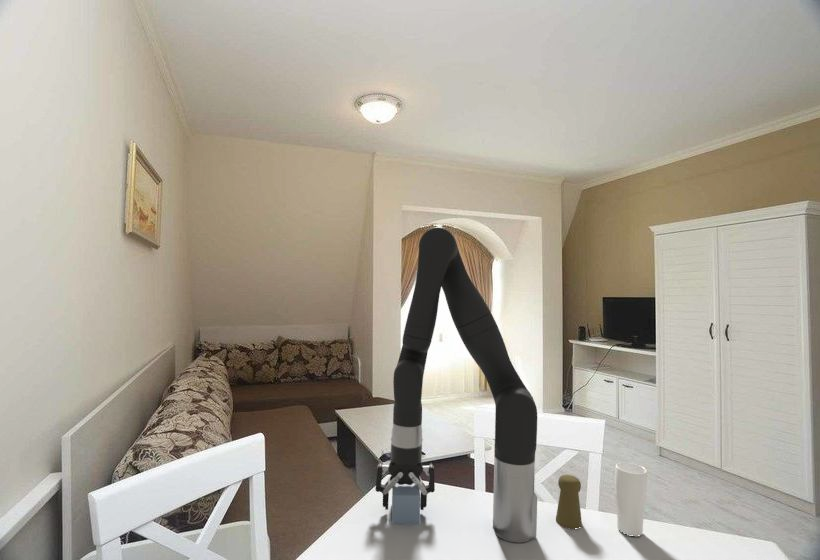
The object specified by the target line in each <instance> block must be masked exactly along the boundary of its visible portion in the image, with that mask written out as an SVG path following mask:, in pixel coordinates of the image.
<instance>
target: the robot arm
mask: <svg viewBox="0 0 820 560" xmlns="http://www.w3.org/2000/svg"><path fill="white" fill-rule="evenodd" d="M457 242H458V241H457V240H456V238H455V236H454V235H453V233H451V231H450V230H448V229H446V228H444V227H439V226H436V227H431V228H429V229H427V230H426V231H424V233H423V234H422V235H421V237H420V239H419V242H418V255H417V256H418V260H417V271H416V279H415V284H414V290H413V294H412V298H411V302H410V306H409V310H408V314H407V317H406V321H405V326H404V331H403V335H402V347H401V350H400V353H399V357H398V361H397V364H396V367H395V369H394V371H393V381H392V382H393V398H394V402H393V409H392V410H393V412H392V427H391V436H390V441H391V442H390V444H391V445H390V461H389V464H383V463H382V462H378V463H377V468H376V479H375V489H374V490H375V492H376V493H379V492H380V493H381V494H382V508H385V510H386V511H387V510H389V497H390V496H389V494H390V493H389V492H390V491H392V488H393V487H394V486H395V484H396V483H398V484H399V485H403V484H407V485H412V484H413V483H415V485H416V486H417V488H418V489H419V490H420V511H424V509H425V508H426V507H427V502H428V495H429V493H434V492H435V491H436V489H435V485H436V484H435V468H434V467H435V466H434V464H433V463H429V464H428V465H423V464H422V457H423V456H422V455H423V453H422V452H423V440H424V439H423V425H422V423H423V404H422V395H423V381H424V374H425V369H426V368H425V367H426V363H427V358H428V351H429V349H430V346H431V343H432V340H433V336H434V331H435V326H436V322H437V316H438V310H439V302H440V294H441V289H442V291H443V295H444V296H445V297H444V298H445V300H446V304H447V307H448V310H449V313H450V316H451V319H452V322H453V324H454V326H455V328H456V330H457V333H458V335H459V336H460V339H461V341H462V343H463V345H464V346H465V348H466V351H468V353H469V354H470V356H471V358H472V359H473V361H474V362H475V364H477V366H478V367H479V369H480V371H481V372H482V374H483V375H484V378H485V379H486V382H487V384H488V386H489V390H490V392H491V394H492V398H493V401H494V404H495V412H494V413H495V414H494V415H495V419H494V420H495V422H494V424H495V425H494V451H493V452H494V458H493V460H494V461H493V462H494V463H493V466H494V467H493V501H492V502H493V503H492V508H493V509H492V530H493V532H494V534H495V535H496V536H497V537H498V538H500V539H501V540H504V541H506V542H511V543H525V542H528V541H530V540H532V539H537V529H538V528H537V525H538V524H537V523H538V521H537V520H538V496H537V494H536V492H535V480H536V479H535V477H536V476H535V475H536V473H535V471H536V451H537V444H538V443H537V436H538V408H537V405H536V402H535V400H534V397H533V395H532V394H531V392H530V390H529V389H528V388H527V387H526V385H525V383H524V382H523V381H522V379H521V378H520V375H519V374H518V372H517V371H516V369H515V367H514V365H513V363H512V360H511V358H510V355H509V352H508V350H507V347H506V344H505V342H504V338H503V336H502V334H501V331H500V328H499V326H498V324H497V322H496V319H495V318H494V315H493V314H492V311H491V309H490V308H489V306H488V304H487V303H486V301H485V299H484V298H483V296H482V295H481V293H480V291H479V290H478V287H476V286H475V284H474V283H473V281H472V279H471V277H470V276H469V273H468V271H467V269H466V267H465V264H464V261H463V259H462V257H461V253H460V250H459V245H458V243H457ZM387 471H388V473H389V474H390V476H389V478H388V479H387V481H386V482H385V484H382V477H383V475H386V472H387ZM423 472H424V473H425V475H426V476H427V477H428V484H426V485H425V483H424V482H423V480H422V478H421V476H422V474H423Z"/></svg>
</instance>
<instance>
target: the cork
mask: <svg viewBox="0 0 820 560" xmlns="http://www.w3.org/2000/svg"><path fill="white" fill-rule="evenodd" d="M557 485H558V487H559V489H560V490H559V491H560V492H559V496H558V497H559V498H558V501H557V502H558V504H557V510H556V516H555V521H556V524H557V525H559V526H560V527H563V528H565V529H568V528H570V529H569V530H576V529H575V528H579V527H581V526H582V527H583V521H582V513H581V504H580V502H581V501H580V495H579V493H580V491H581V489H582V483H581V481H580V479H579V478H578V477H576V476H574V475H573V474H563V475H561V476H560V477H559V478H558V482H557ZM582 527H581V528H582ZM579 529H580V528H579Z"/></svg>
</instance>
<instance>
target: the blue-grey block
mask: <svg viewBox="0 0 820 560" xmlns="http://www.w3.org/2000/svg"><path fill="white" fill-rule="evenodd" d="M391 491H392V492H391V524H392V525H394V524H395V525H420V522H421V521H420V518H421V509H420V497H421V491H420V490H419V489H418V488H417V486H416V485H415V483H413V484H412V485H407V484H403V485H399V484H398V483H396V484H395V486H394V487H393V488H391Z"/></svg>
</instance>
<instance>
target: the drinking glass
mask: <svg viewBox="0 0 820 560" xmlns="http://www.w3.org/2000/svg"><path fill="white" fill-rule="evenodd" d="M614 490H615V501H616V502H615V503H616V518H617V521H616V522H617V525H616V526H617V530H618V531H619V530H620V531H619V532H620V533H622V532H623V533H625V534H628V535H633V536H638V535H641V534H642V535H643V531H644V517H645V510H646V509H645V508H646V500H647V499H646V498H647V492H648V470H647V469H646V468H645V467H643V466H642V465H639V464H636V463H634V462H633V463H632V462H624V461H623V462H622V461H621V462H617V463H616V464H615V469H614ZM623 533H622V534H623ZM625 534H624V535H625ZM628 535H627V536H628ZM642 535H641V536H642Z"/></svg>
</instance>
